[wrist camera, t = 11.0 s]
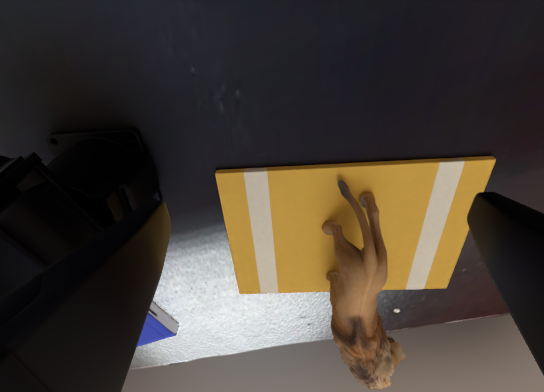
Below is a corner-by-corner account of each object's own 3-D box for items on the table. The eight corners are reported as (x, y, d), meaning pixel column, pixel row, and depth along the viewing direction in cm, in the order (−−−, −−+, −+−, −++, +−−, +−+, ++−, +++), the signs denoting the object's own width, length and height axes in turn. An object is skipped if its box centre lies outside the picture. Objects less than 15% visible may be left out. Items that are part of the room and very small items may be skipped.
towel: (240, 289, 32) (239, 294, 31) (216, 169, 24) (214, 173, 23) (443, 283, 30) (446, 288, 30) (491, 155, 22) (496, 159, 22)
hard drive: (92, 361, 38) (175, 337, 34) (35, 326, 33) (123, 294, 30) (98, 349, 39) (179, 324, 35) (44, 313, 35) (130, 281, 31)
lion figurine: (384, 294, 31) (417, 395, 23) (330, 302, 32) (345, 401, 24) (373, 168, 23) (418, 262, 15) (300, 183, 23) (310, 279, 16)
